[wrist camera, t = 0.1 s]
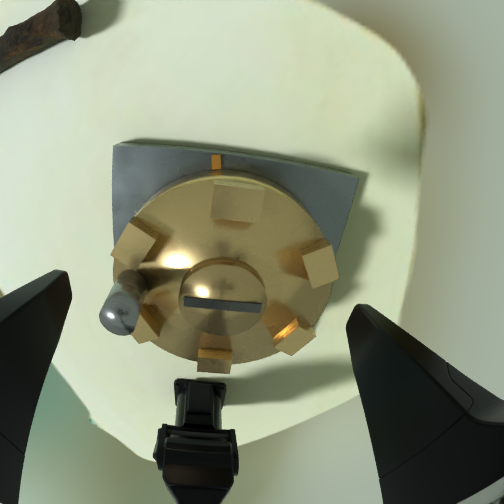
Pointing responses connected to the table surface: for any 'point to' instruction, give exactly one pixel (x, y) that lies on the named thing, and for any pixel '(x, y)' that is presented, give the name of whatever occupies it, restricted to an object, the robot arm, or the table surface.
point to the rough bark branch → (40, 31)
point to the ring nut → (220, 271)
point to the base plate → (202, 159)
